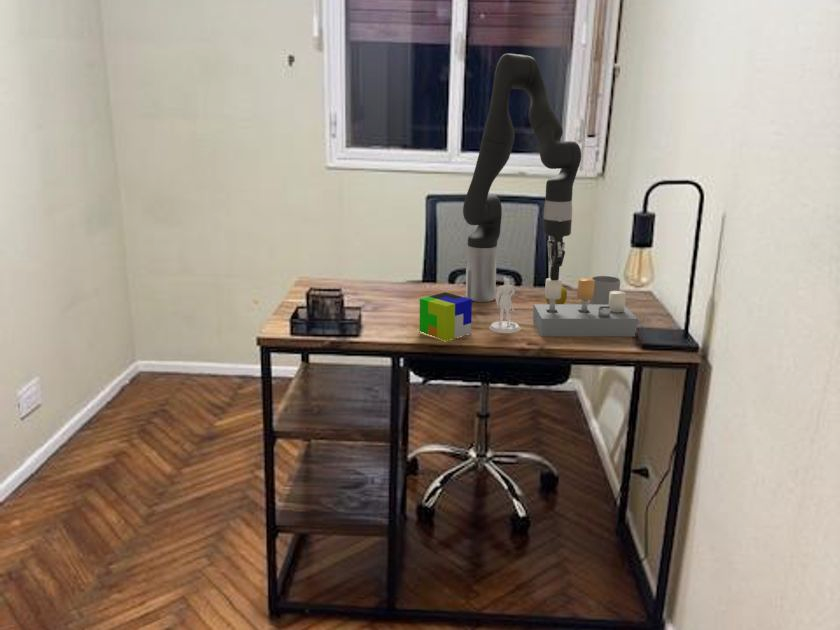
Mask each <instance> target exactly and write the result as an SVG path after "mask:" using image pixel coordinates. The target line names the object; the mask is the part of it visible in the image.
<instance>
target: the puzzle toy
mask: <svg viewBox="0 0 840 630" xmlns="http://www.w3.org/2000/svg"><path fill="white" fill-rule="evenodd" d="M472 309H473V301H472V299H469V298H466V296H465V297H464V296H461V295H459V294H458V295H457V294H454V293H449V292H440V293H438V294H434V295H430V296H426V297H421V298H419V332H420V331H421V332H424V333H426V334H429V335H432V336H435V337H437V338H440V339H442V340H445V341H447V340H450V339H454V338H457V337H460V336H464V335H467V334H470V335H472V319H473V318H472V317H473V316H472V312H473V311H472ZM467 336H468V335H467ZM464 337H465V336H464ZM454 340H455V339H454Z"/></svg>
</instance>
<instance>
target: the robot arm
mask: <svg viewBox="0 0 840 630" xmlns="http://www.w3.org/2000/svg"><path fill="white" fill-rule="evenodd" d="M493 77H494V78H493V84H492V90H491V91H492V92H491V97H490V99H491V100H490V104H489V108H488V114H487V120H486V123H485V126H484V131H483V134H482V138H481V143H480V146H479V152H478V156H477V159H476V164H475V166H474V167H475V168H474V171H473V174H472V178H471V181H470V184H469V187H468V190H467V193H466V196H465V199H464V202H463V207H462V214H463V218H464V220H465V222H466V223H467V224H468V225H470V226H477V228H476V229H475V230H474V231H473V232H472V233H470V235H468V237H467V248H466V249H467V256H466V257H467V259H466V261H467V262H466V267H465V268H466V269H465V298H469V299H472V302H478V303H479V302H481V303H485V302H492V301H494V300H496V296H495V293H496V285H497V284H496V283H497V255H498V241H499V239H500V235H501V226H502V215H503V212H502V211H503V208H502V202H501V200H500V198H499V197H498V196H497V195H496V194H494V193H490V189H491V187H492V184H493V183H494V181H495V180H496V179H497V177H498V175H499V174H500V173H501V172H502V170H503V168H504V167H505V166H506V165H507V163H508V161H509V159H510V157H511V154H512V150H513V145H514V141H515V136H516V135H515V130H514V129H515V128H514V125H513V121H512V119H511V115H510V111H509V101H510V95H511V92H512V91H511V90H524V91H525V92H526V94H527V95H528V96H529V99H530V104H529V109H528V122H529V124H530V127H531V128H532V131H533V133H534V135H535V136H536V138H537V142H538V143H537V144H538V149H539V157H540V161H541V163H542V164H543V166H544V167H546V168H547V169H549V170H556V169H557V170H558V169H560V170H559V173H558V174H557V175H556V176H553V177H551V178H548V179H547V180H546V183H545V201H544V206H543V221H542V222H543V223H542V234H543V235H545V236H548V237H549V240H547V244H546V245H547V254H548V255H547V256H548V259H547V260H548V263H549V266H550V267H549V268H550V269H549V278H550V279H551V280H558V279H560V268H561V267H562V266H563V262H564V258H565V255H566V251H565V250H564V249H565V242H564V237H568V236H570V235H571V233H572V221H573V190H574V189H573V186H574V183H575V180H576V177H577V174H578V170H579V167H580V164H581V161H582V150H581V146H580V145H579V144H578V143H577V142H576V141H572V140H565V141H564V140H563V141H562V140H561V138H562V136H563V133H564V131H563V127H562V125H561V123H560V121H559V119H558V117H557V115H556V113H555V111H554V109H553V106H552V105H551V103H550V99H549V96H548V93H547V90H546V85H545V83H544V79H543V76H542V73H541V69H540V67H539V64H538V62H537V61H536V59H535V58H534V57H532V56H530V55H526V54H525V55H524V54H516V53H504V54H503V55H502V56H501V57H500V58H499V59H498V62H497V64H496V69H495V72H494V76H493Z"/></svg>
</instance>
